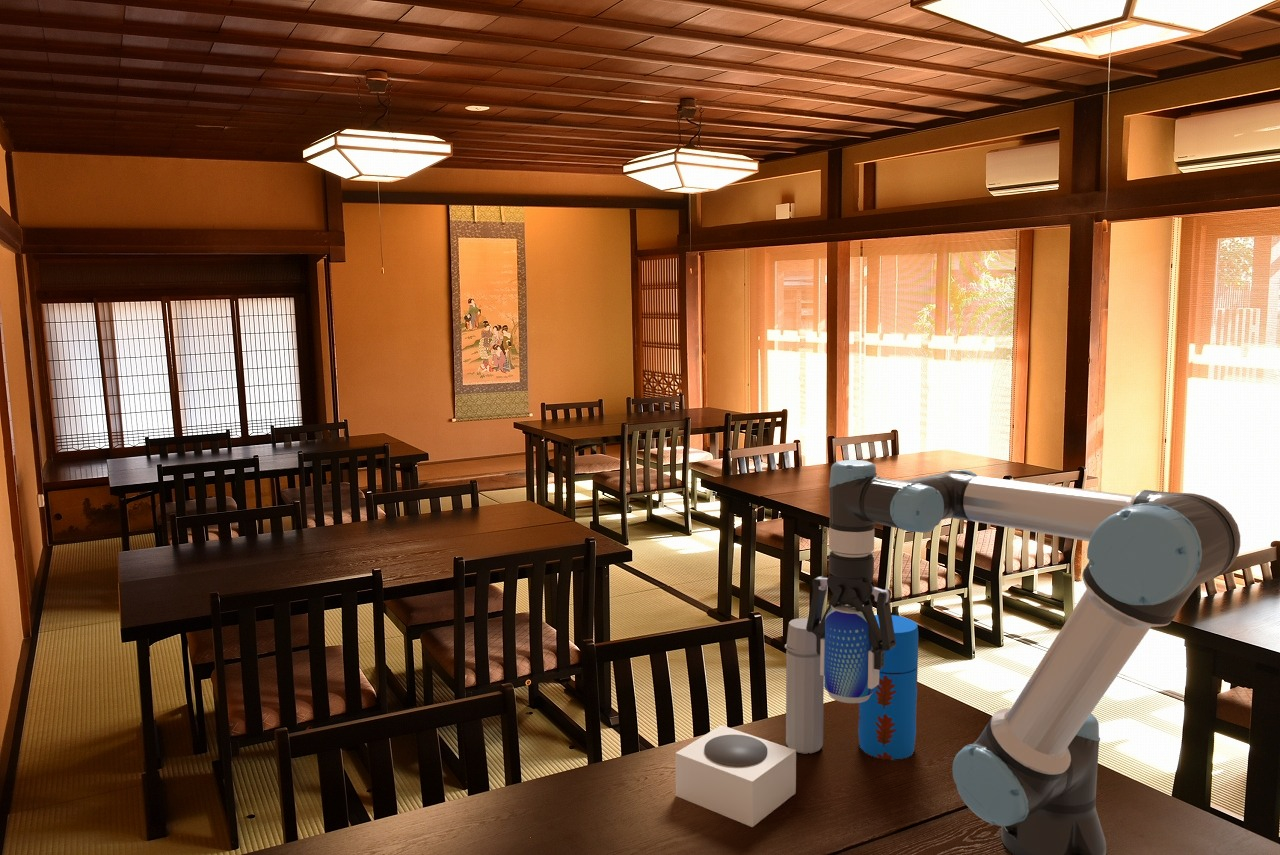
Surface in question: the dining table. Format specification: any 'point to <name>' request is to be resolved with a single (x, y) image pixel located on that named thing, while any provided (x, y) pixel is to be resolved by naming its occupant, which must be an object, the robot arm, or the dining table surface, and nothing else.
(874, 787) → the dining table surface
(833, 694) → the beer can
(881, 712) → the thermos
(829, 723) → the dining table surface
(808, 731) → the water bottle
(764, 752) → the white block with disc
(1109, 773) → the dining table surface
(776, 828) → the dining table surface
